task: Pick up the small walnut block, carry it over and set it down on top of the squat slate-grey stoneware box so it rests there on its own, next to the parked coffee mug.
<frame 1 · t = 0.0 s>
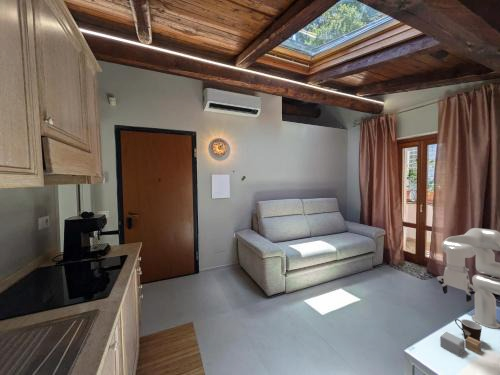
hand: (456, 296, 117), 31 cm above the table, fingers open, 9 cm apart
coffee mug: (469, 338, 125), on the table
stoneware box: (452, 348, 119), on the table
walnut block: (473, 349, 118), on the table
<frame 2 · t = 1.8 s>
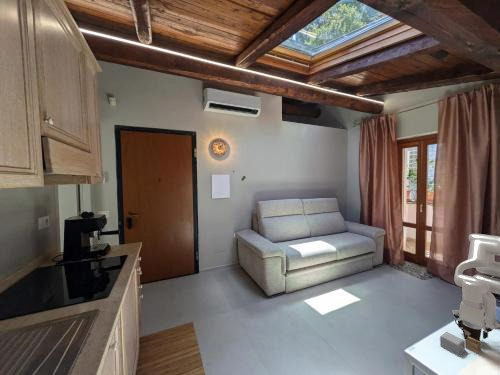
hand: (472, 332, 117), 10 cm above the table, fingers open, 9 cm apart
nothing on the table moved.
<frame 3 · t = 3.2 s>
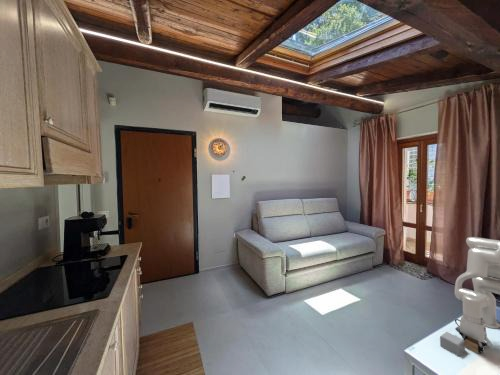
hand: (473, 348, 118), 0 cm above the table, fingers closed on walnut block, 5 cm apart
walnut block: (473, 349, 118), on the table, touching gripper
everything else where it was.
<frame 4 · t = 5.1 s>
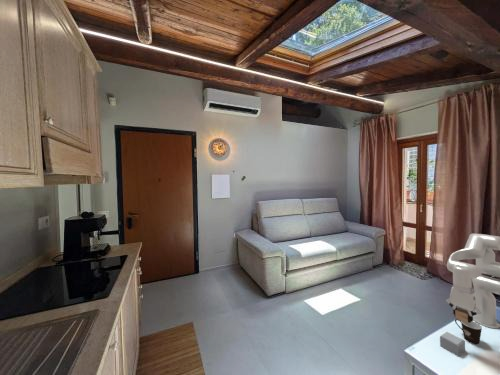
hand: (462, 318, 118), 18 cm above the table, fingers closed on walnut block, 5 cm apart
walnut block: (463, 319, 118), point 17 cm above the table, touching gripper
everything else where it was.
when the fingers open (8 cm above the table, at t = 7.0 s): walnut block drops 1 cm, resting on stoneware box.
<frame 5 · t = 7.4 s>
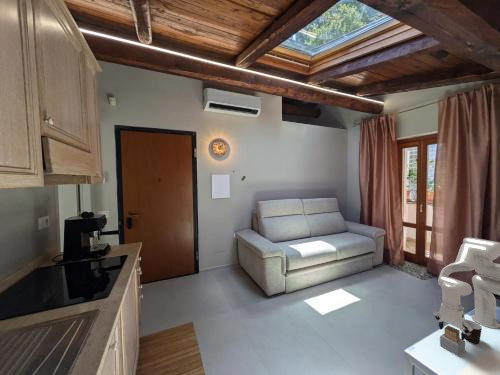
hand: (452, 333, 119), 9 cm above the table, fingers open, 9 cm apart
stoneware box: (452, 348, 119), on the table, touching walnut block
walnut block: (452, 337, 119), point 6 cm above the table, touching stoneware box
everything else where it was.
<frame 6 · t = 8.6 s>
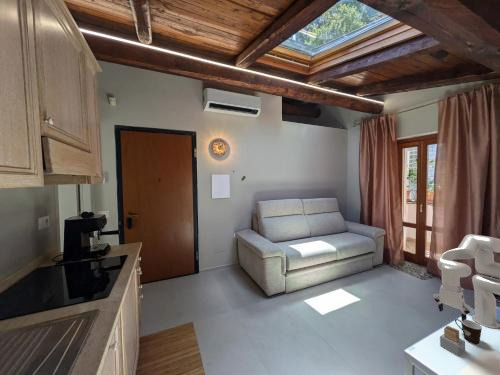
hand: (452, 315, 119), 20 cm above the table, fingers open, 9 cm apart
nothing on the table moved.
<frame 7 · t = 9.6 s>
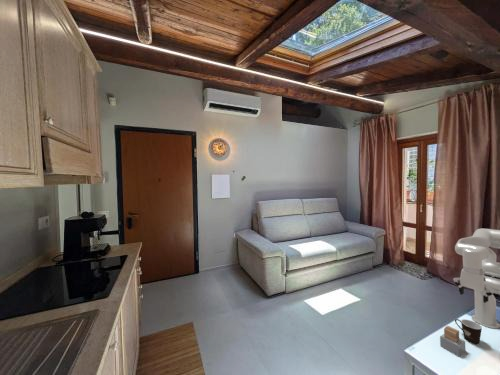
hand: (473, 297, 120), 28 cm above the table, fingers open, 9 cm apart
nothing on the table moved.
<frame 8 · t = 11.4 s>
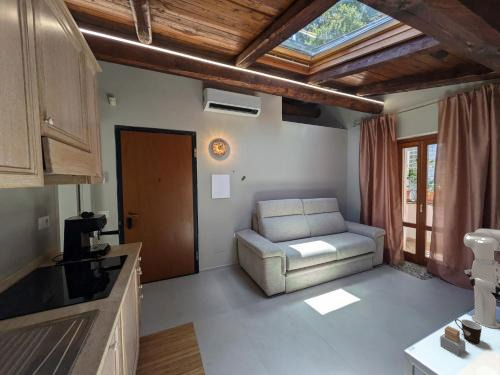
hand: (484, 289, 121), 32 cm above the table, fingers open, 9 cm apart
stoneware box: (452, 348, 119), on the table
walnut block: (452, 338, 119), point 6 cm above the table
everything else where it was.
at the end: walnut block 0.1 cm off-centre on the stoneware box, point 6.3 cm above the stoneware box's base; walnut block tilted 0°; the gripper is holding nothing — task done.
